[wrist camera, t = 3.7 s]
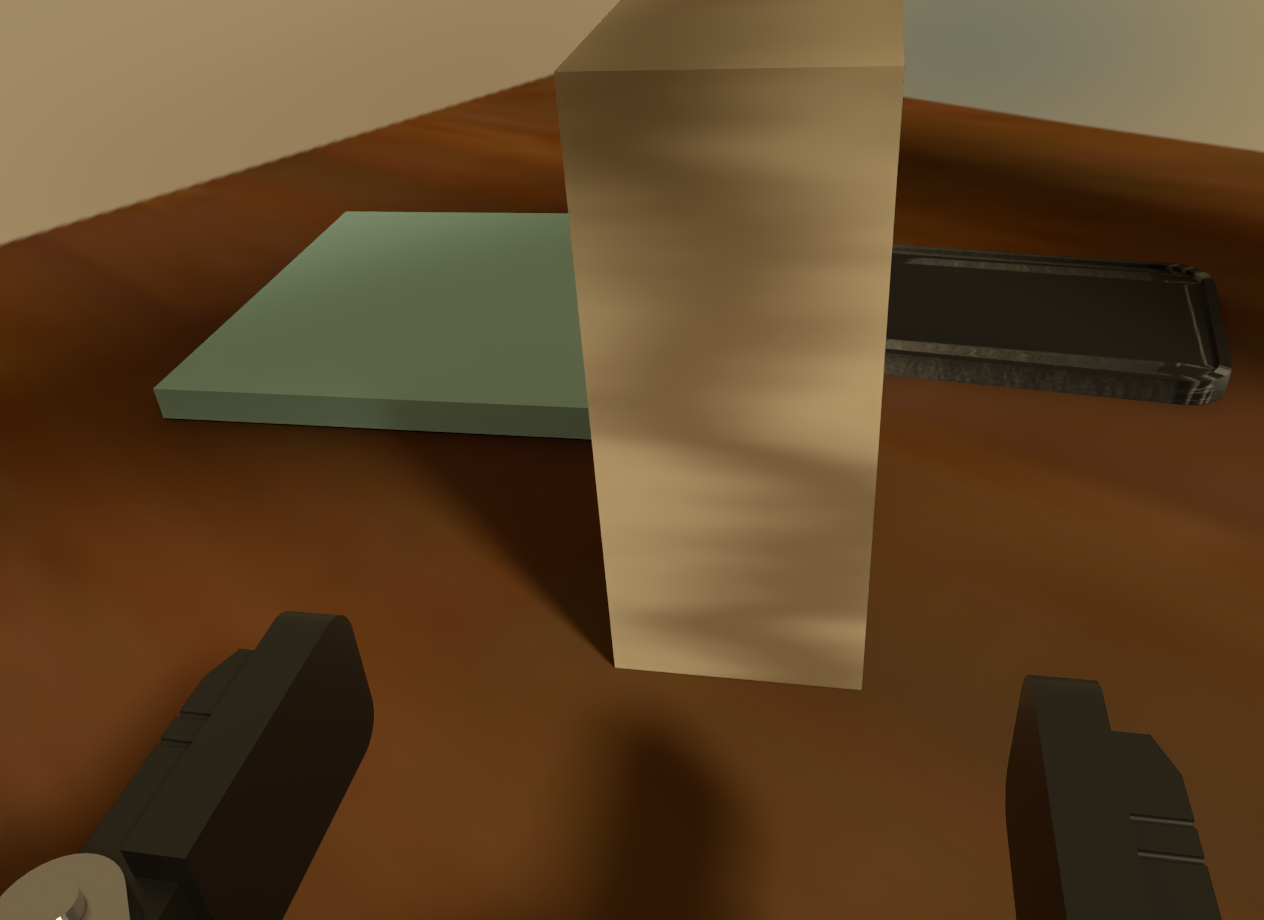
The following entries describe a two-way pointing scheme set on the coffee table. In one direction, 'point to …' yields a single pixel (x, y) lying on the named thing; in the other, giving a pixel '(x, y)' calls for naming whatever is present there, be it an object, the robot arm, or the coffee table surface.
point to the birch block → (735, 322)
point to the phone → (1057, 324)
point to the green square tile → (404, 332)
